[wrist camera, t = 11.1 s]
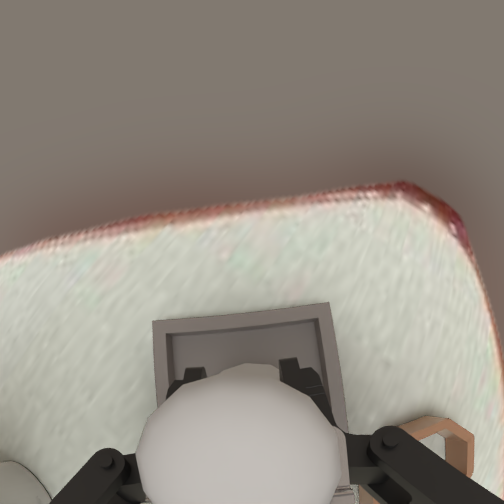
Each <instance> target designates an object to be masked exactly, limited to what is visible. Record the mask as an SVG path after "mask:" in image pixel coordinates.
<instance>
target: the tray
mask: <svg viewBox="0 0 504 504" xmlns="http://www.w3.org/2000/svg"><path fill="white" fill-rule="evenodd" d="M152 327H153V353H154V371H155V384H156V396H157V407H160V406H161V405H162V404H163V403H164V402H165V401H166V395H167V390H168V388H169V387H170V385H171V384H172V383H173V382H174V380H183V378H184V372H185V368H186V367H204V368H205V370H206V374H207V378H208V377H211V376H214V375H217V374H220V373H221V372H222V371H223V370H226V369H229V368H232V367H235V366H238V365H241V364H244V363H252V364H269V365H272V366H274V367H276V368H277V369H279V359H284V358H291V357H297V359H298V363H299V366H300V369H301V368H308V367H312V368H313V369H314V370H315V371H316V372H317V373H318V374H319V376H320V379H321V382H322V385H323V387H324V390H325V394H326V396H327V399H328V402H329V405H330V408H331V411H332V414H333V417H334V420H335V422H336V424H337V426H338V427H339V428H340V429H341V430H343V431H344V432H346V433H348V424H347V415H346V407H345V399H344V391H343V384H342V376H341V369H340V363H339V356H338V350H337V344H336V338H335V332H334V326H333V320H332V315H331V309H330V304H329V302H327V303H320V304H313V305H306V306H299V307H291V308H284V309H276V310H267V311H259V312H250V313H241V314H231V315H221V316H210V317H198V318H185V319H171V320H156V321H152Z"/></svg>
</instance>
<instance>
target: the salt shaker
mask: <svg viewBox="0 0 504 504" xmlns="http://www.w3.org/2000/svg"><path fill="white" fill-rule="evenodd" d="M135 454H136V460H137V465H138V469H139V474H140V479H141V483H142V487H143V491H144V492H145V493H146V495H147V496H148V498H149V499H150V500H151V502H152V503H153V504H330V501H331V499H332V497H333V495H334V492H335V490H336V488H337V485H338V483H339V480H340V478H341V466H340V456H339V447H338V439H337V434H336V432H335V429H334V428H333V426H332V425H331V424H330V423H329V421H328V420H327V419H326V417H325V416H324V415H323V414H322V412H321V411H320V410H319V408H318V407H317V406H316V404H315V403H314V402H313V400H312V399H311V398H310V397H309V396H307V395H305V394H303V393H301V392H300V391H298V390H296V389H294V388H292V387H290V386H288V385H287V384H285V383H283V382H281V381H280V377H279V369H277V368H276V367H274V366H272V365H269V364H252V363H244V364H241V365H238V366H235V367H232V368H229V369H226V370H223V371H222V372H221V373H220V374H217V375H214V376H211V377H208V378H204V379H201V380H197V381H194V382H190V383H187V384H183V385H182V386H181V387H180V388H179V389H178V390H177V391H175V392H174V393H173V394H172V395H171V396H170V397H169V398H168V399H167V400H166V401H165V402H164V403H163V404H162V405H161V406H160V407H158V408H157V409H156V410H155V411H154V412H153V413H152V414H151V415H150V416H149V417H148V418H147V421H146V424H145V426H144V429H143V432H142V435H141V438H140V441H139V444H138V447H137V449H136V452H135Z"/></svg>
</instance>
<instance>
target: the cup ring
mask: <svg viewBox="0 0 504 504" xmlns="http://www.w3.org/2000/svg"><path fill="white" fill-rule="evenodd" d="M397 427H399V428H402V429H403V430H405V431H406V432H407V433H408V434H410V435H411V436H412V437H414V438H415V439H416V440H421V439H423V438H426V437H428V436H430V435H432V434H435V433H438V434H439V435H441V436H442V437H444V438H445V447H446V462H448V463H449V464H450V465H452V466H453V467H455V468H456V469H457V470H459V471H460V472H462V473H463V474H465V475H466V476H467V477H469V478H471V476H472V473H473V469H474V436H473V434H472V433H470V432H469V431H467V430H466V429H464V428H463V427H461V426H460V425H458V424H457V423H455V422H454V421H452V420H451V419H449V418H441V417H432V416H423V417H421V418H418V419H416V420H413V421H410V422H408V423H405V424H402V425H399V426H397ZM358 485H359V484H358ZM359 504H380V503H378V502H377V501H376V500H375V499H374V498H373V497H372V496H371V495H370V494H369V493H368V492H367V491H365V490H364V489H363V488H362V487H361V486H360V485H359Z"/></svg>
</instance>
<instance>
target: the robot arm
mask: <svg viewBox="0 0 504 504" xmlns="http://www.w3.org/2000/svg"><path fill="white" fill-rule="evenodd" d="M279 377H280V381H281V382H283V383H285V384H287V385H288V386H290V387H292V388H294V389H296V390H298V391H300V392H301V393H303V394H305V395H307V396H309V397H310V398H311V399H312V400H313V402H314V403H315V404H316V406H317V407H318V408H319V410H320V411H321V412H322V414H323V415H324V416H325V417H326V419H327V420H328V421H329V423H330V424H331V425H332V426H333V428H334V429H335V432H336V434H337V439H338V447H339V456H340V466H341V478H340V480H339V483H338V485H337V488H336V490H335V492H334V495H333V497H332V499H331V501H330V504H355V498H354V492H353V490H352V489H351V488H350V484H359V485H360V486H361V487H362V488H363V489H364V490H365V491H367V492H368V493H369V494H370V495H371V496H372V497H373V498H374V499H375V500H376V501H377V502H378V503H380V504H504V501H503V500H502V499H500V498H499V497H497V496H496V495H494V494H493V493H491V492H490V491H488V490H487V489H485V488H484V487H482V486H481V485H479V484H478V483H476V482H475V481H473V480H472V479H470V478H469V477H467V476H466V475H465V474H463V473H462V472H460V471H459V470H457V469H456V468H455V467H453V466H452V465H450V464H449V463H448V462H446V461H445V460H443V459H442V458H441V457H439V456H438V455H437V454H435V453H434V452H433V451H431V450H430V449H428V448H427V447H426V446H424V445H423V444H422V443H420V442H419V441H418V440H416V439H415V438H414V437H412V436H411V435H410V434H408V433H407V432H406V431H405V430H403V429H402V428H399V427H396V426H385V427H382V428H380V429H378V430H377V431H375V432H374V434H373V435H353V434H349V433H346V432H344V431H343V430H341V429H340V428H339V427H338V426H337V424H336V422H335V420H334V417H333V414H332V411H331V408H330V405H329V402H328V399H327V396H326V394H325V390H324V387H323V385H322V382H321V379H320V376H319V374H318V373H317V372H316V371H315V370H314V369H313V368H312V367H308V368H301V369H300V366H299V363H298V359H297V357H291V358H284V359H279ZM204 378H207V374H206V370H205V368H204V367H186V368H185V372H184V378H183V380H174V382H173V383H172V384H171V385H170V387H169V388H168V390H167V395H166V400H167V399H168V398H169V397H170V396H171V395H172V394H173V393H174V392H175V391H177V390H178V389H179V388H180V387H181V386H182V385H183V384H187V383H190V382H194V381H197V380H201V379H204ZM0 504H153V503H152V502H151V500H150V499H149V498H148V496H147V495H146V493H145V492H144V491H143V487H142V483H141V479H140V474H139V469H138V465H137V460H136V454H135V453H134V454H128V455H122V454H121V453H120V452H119V451H118V450H116V449H113V448H105V449H101V450H99V451H97V452H96V453H95V454H94V455H93V456H92V457H91V458H90V459H89V460H88V462H87V463H86V464H85V465H84V466H83V467H82V468H81V469H80V470H79V471H78V473H77V474H76V475H75V476H74V477H73V478H72V479H71V480H70V481H69V482H68V483H67V485H66V486H65V487H64V488H63V489H62V490H61V491H60V492H59V493H58V494H57V495H56V496H55V497H54V499H53V500H51V499H50V497H49V495H48V493H47V492H46V490H45V489H44V487H43V486H42V485H41V483H40V482H39V481H38V480H37V478H36V477H35V476H34V475H33V474H32V473H31V472H30V471H29V470H27V469H26V468H25V467H23V466H22V465H20V464H19V463H16V462H13V461H6V462H0Z"/></svg>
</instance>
